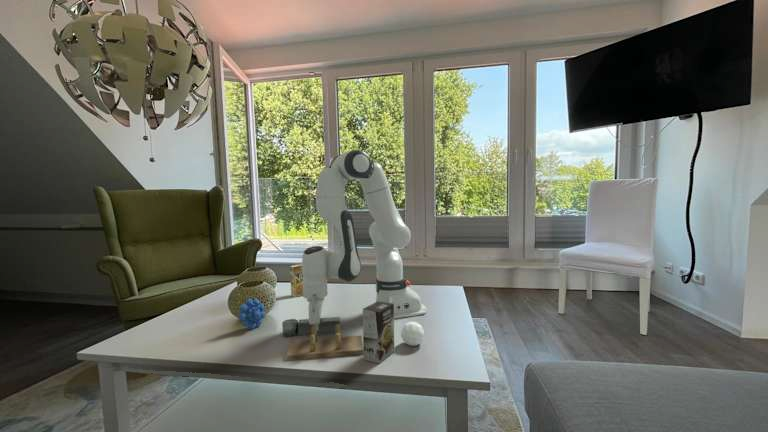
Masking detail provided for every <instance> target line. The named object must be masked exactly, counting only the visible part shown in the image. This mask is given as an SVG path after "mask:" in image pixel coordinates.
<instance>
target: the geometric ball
mask: <svg viewBox="0 0 768 432" xmlns="http://www.w3.org/2000/svg"><path fill="white" fill-rule="evenodd" d="M400 334H401V335H400V336H401V339H402V340H403V342H404V343H405V344H406V345H408V346H412V347H416V346H418V345H419V344H421V343H423V339H424V337H425V330H424V327H423V326H422V325H421V324H420V323H418V322H416V321H409V322H407V323H405V324H404V325H403V326H402V329H401V333H400Z"/></svg>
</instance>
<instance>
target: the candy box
mask: <svg viewBox="0 0 768 432" xmlns="http://www.w3.org/2000/svg"><path fill="white" fill-rule="evenodd" d="M289 273H290V274H289V276H290V290H291V292H290V293H291V296H292V297H293V298H297V297H302V296H303V280H304V277H303V273H302V263H301V264H300V263H299V264H294V265H289Z"/></svg>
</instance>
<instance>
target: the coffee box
mask: <svg viewBox="0 0 768 432" xmlns="http://www.w3.org/2000/svg"><path fill="white" fill-rule="evenodd" d="M362 344H363V354H362V355H363V359H364V360H366V361H370V362H374V363H375V364H376V363H377V364H381V363H382V362H384V361H385V360H386V359H388V357H390V356H391V355H392V354H394V353H395V319H394V304H392V303H386V302H379V301H377V302H376V301H375V302H374V303H372V304H369V305H368V306H365V307H364V308H362Z"/></svg>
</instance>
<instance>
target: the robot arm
mask: <svg viewBox="0 0 768 432" xmlns="http://www.w3.org/2000/svg"><path fill="white" fill-rule="evenodd" d="M354 180H357V181H358V182H359V184H360V185H361V189H362V193H363V196H364V200H365V202H366V207H367V210H368V212H369V214H370V215H371V217H372V218H373V220H374V221H373V222H372V223H371V224H370V226H369V228H368V233H369V236H370V239H371V242H372V247H373V251H374V256H375V261H376V278H375V291H376V298H375V302H377V301H379V302H386V303H392V304H394V320H395V319H401V318H409V317H414V316H415V317H416V316H421V315H422V314H423V315H426V314H427V307H426V305H425V304H423V303H422V301H421V297H420V296H419V294H418V293H417V292H416V291H415V290H413V289H412V288H410V285H411V282H410V281H409V280H408V279H407V278H406V277H404V276H403V275H404V270H403V269H404V268H403V266H404V265H403V259H402V257H401V255H400V252H399V249H403V248H405V247H406V246H408V245H409V243H410V241H411V238H412V232H411V230H410V229H409V227H408V226H407V225H406V224H405V222H404V220H403V218H402V216H401V215H400V212H399V210H398V209H397V207H396V204H395V201H394V199H393V195H392V192H391V191H392V190H391V187H390V184H389V181H388V178H387V175H386V173H385V171H384V169H383V167H382V165H381V164H379V163H378V162H374V161H373V160H372V158H371V156H369V154H367V152H365V151H363V150H359V149H354V150H353V149H352V150H349V151H345V152H343V153H341V154H337V156H335V157H334V158H333V159H332V161H331V163H330V165H329V166H328V167H327V168H324V169H322V170H321V171H319V173H318V175H317V181H316V187H315V188H316V189H315V209H316V212H317V213H318V215H319V216H320V218H322V219H323V220H324V221H326V222H328V223H330V224H331V225H332V226H334V227H335V228H336V229H337V231H338V232H339V237H340V244H341V251H342V253H341V252H339V253H338V252H332V251H329V250H327V249H325V248H324V247H323V246H320V245H315V246H310V247H308V248H306V249H305V250H304V251H303V253H302V256H301V257H302V258H301V264H302V273H303V277H304V280H303V298H304V299H306V302H307V303H308V319H309V324H310V325H313V326H316V330H317V331H318V330H319V324H320V318H322V310H323V303H324V301H325V297H327V296H328V279H327V278H331V279H337V280H341V281H344V282H347V283H349V282H350V283H351V282H353V281H354V280H355V279H357V278H358V277H359V275H360V274H361V271H362V262H361V260H360V257H359V251H358V246H357V238H356V230H355V224H354V219H353V216H352V214H351V213H350V212H349V211H348V207H347V205H346V204H347V203H346V192H345V191H346V190H345V189H346V186H347V183H348V181H354ZM425 313H426V314H425Z"/></svg>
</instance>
